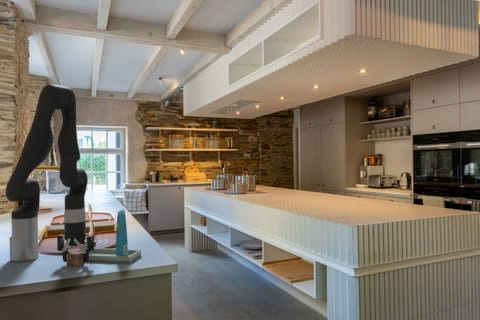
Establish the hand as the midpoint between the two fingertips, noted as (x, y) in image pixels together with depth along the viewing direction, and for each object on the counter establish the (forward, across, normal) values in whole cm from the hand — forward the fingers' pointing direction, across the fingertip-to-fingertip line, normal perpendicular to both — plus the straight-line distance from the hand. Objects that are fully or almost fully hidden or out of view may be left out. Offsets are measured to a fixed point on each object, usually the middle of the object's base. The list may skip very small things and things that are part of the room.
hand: (75, 261), depth 132 cm
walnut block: (+1, 0, 0) cm, 1 cm away
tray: (+1, +9, +10) cm, 14 cm away
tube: (+1, +14, +10) cm, 17 cm away
